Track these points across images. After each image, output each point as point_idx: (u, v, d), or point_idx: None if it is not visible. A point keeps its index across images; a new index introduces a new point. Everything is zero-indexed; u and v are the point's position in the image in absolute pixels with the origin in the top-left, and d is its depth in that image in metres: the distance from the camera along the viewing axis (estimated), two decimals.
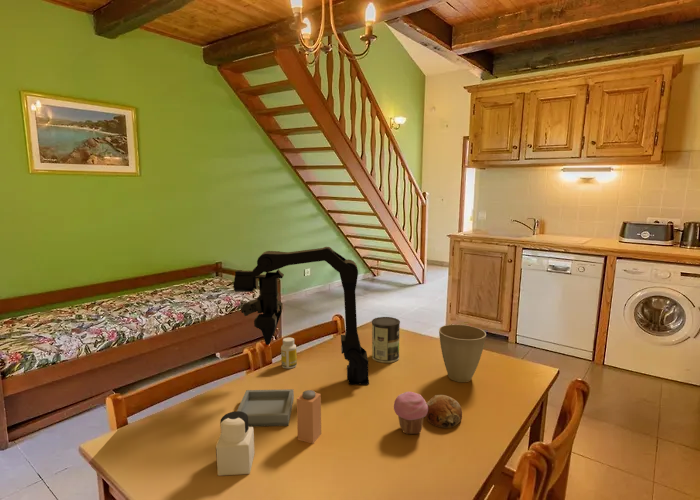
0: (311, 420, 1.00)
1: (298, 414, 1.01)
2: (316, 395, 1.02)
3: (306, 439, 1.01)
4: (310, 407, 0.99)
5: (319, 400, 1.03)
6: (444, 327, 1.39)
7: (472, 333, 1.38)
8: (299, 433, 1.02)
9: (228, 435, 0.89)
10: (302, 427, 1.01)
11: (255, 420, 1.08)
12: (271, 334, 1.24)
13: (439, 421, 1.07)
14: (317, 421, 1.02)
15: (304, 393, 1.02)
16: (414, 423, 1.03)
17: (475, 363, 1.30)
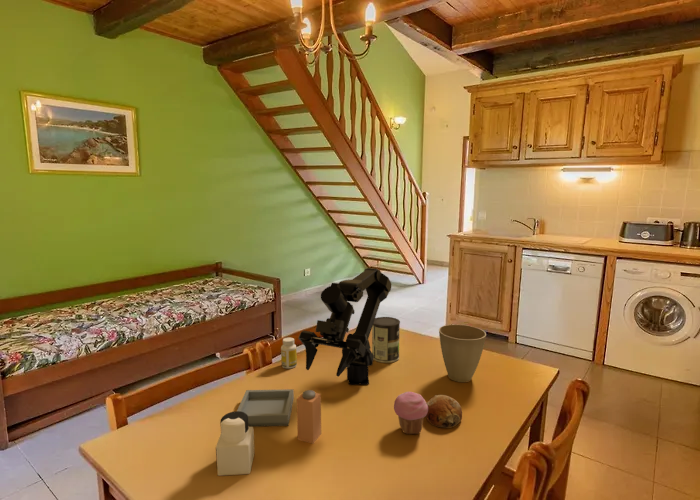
0: (311, 420, 1.00)
1: (298, 414, 1.01)
2: (316, 395, 1.02)
3: (306, 439, 1.01)
4: (310, 407, 0.99)
5: (319, 400, 1.03)
6: (444, 327, 1.39)
7: (472, 333, 1.38)
8: (299, 433, 1.02)
9: (228, 435, 0.89)
10: (302, 427, 1.01)
11: (255, 420, 1.08)
12: (347, 365, 1.10)
13: (439, 421, 1.07)
14: (317, 421, 1.02)
15: (304, 393, 1.02)
16: (414, 423, 1.03)
17: (475, 363, 1.30)
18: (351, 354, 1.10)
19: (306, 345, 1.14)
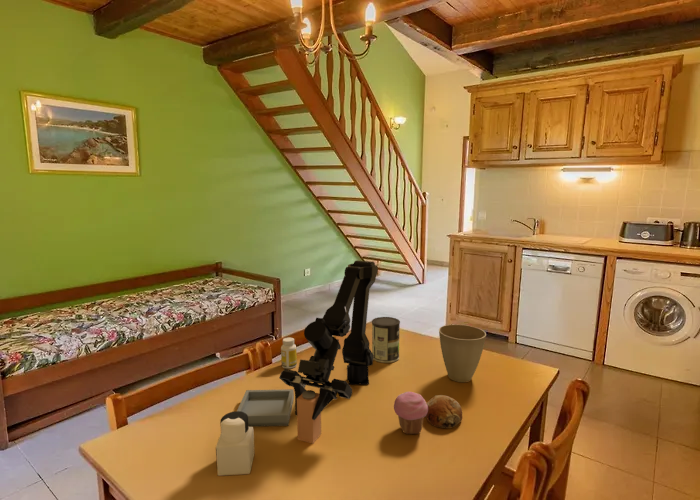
0: (311, 420, 1.00)
1: (298, 414, 1.01)
2: (316, 395, 1.02)
3: (306, 439, 1.01)
4: (310, 407, 0.99)
5: None
6: (444, 327, 1.39)
7: (472, 333, 1.38)
8: (299, 433, 1.02)
9: (228, 435, 0.89)
10: (302, 427, 1.01)
11: (255, 420, 1.08)
12: (324, 407, 1.02)
13: (439, 421, 1.07)
14: (317, 421, 1.02)
15: (304, 393, 1.02)
16: (414, 423, 1.03)
17: (475, 363, 1.30)
18: (328, 395, 1.02)
19: (295, 387, 1.03)
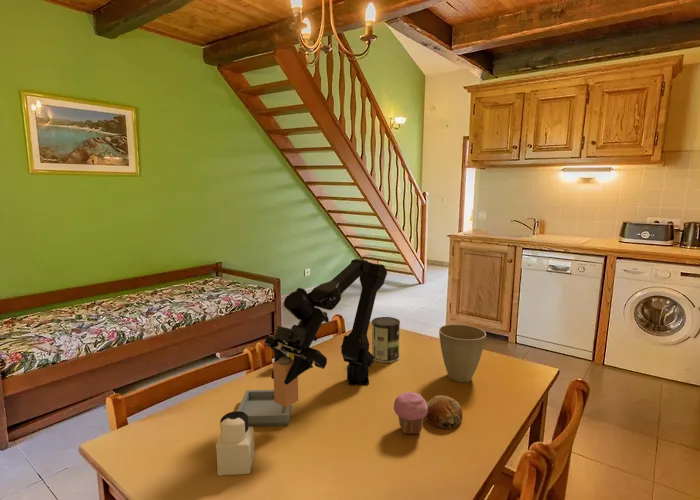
0: (284, 384, 1.04)
1: (274, 378, 1.06)
2: (292, 362, 1.06)
3: (281, 403, 1.06)
4: (283, 372, 1.03)
5: None
6: (444, 327, 1.39)
7: (472, 333, 1.38)
8: (275, 396, 1.06)
9: (228, 435, 0.89)
10: (277, 391, 1.06)
11: (255, 420, 1.08)
12: (299, 374, 1.05)
13: (439, 422, 1.07)
14: (292, 386, 1.06)
15: (281, 358, 1.06)
16: (414, 423, 1.03)
17: (475, 363, 1.30)
18: (303, 362, 1.05)
19: (275, 353, 1.08)
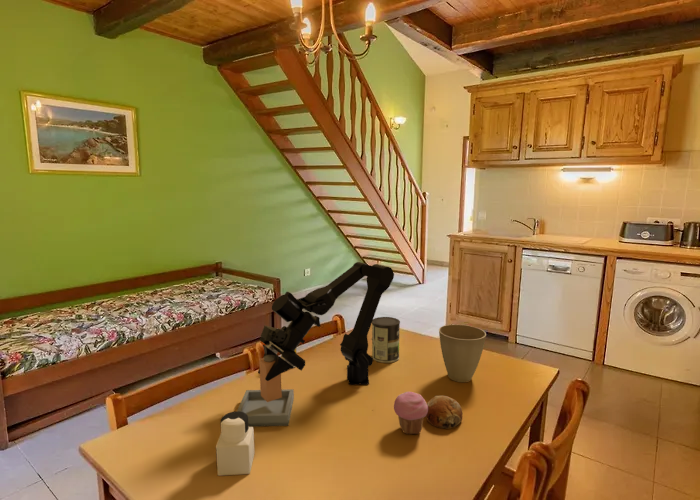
0: (265, 380, 1.12)
1: (260, 373, 1.14)
2: None
3: (264, 397, 1.14)
4: (265, 369, 1.11)
5: None
6: (444, 327, 1.39)
7: (472, 333, 1.38)
8: (261, 390, 1.15)
9: (228, 435, 0.89)
10: (262, 385, 1.14)
11: (255, 420, 1.08)
12: (280, 372, 1.12)
13: (439, 422, 1.06)
14: (274, 383, 1.13)
15: (266, 356, 1.14)
16: (414, 423, 1.03)
17: (475, 363, 1.30)
18: (284, 362, 1.11)
19: (264, 350, 1.17)
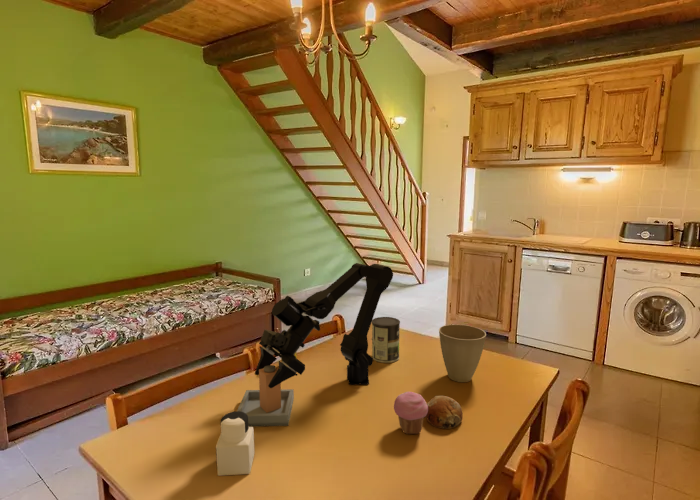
0: (265, 391, 1.12)
1: (259, 383, 1.15)
2: (275, 371, 1.13)
3: (263, 407, 1.14)
4: (265, 379, 1.12)
5: None
6: (444, 327, 1.39)
7: (472, 333, 1.38)
8: (260, 401, 1.15)
9: (228, 435, 0.89)
10: (261, 396, 1.14)
11: (255, 420, 1.08)
12: (283, 379, 1.10)
13: (439, 422, 1.06)
14: (274, 394, 1.13)
15: (266, 366, 1.14)
16: (414, 423, 1.03)
17: (475, 363, 1.30)
18: (288, 369, 1.10)
19: (261, 351, 1.19)
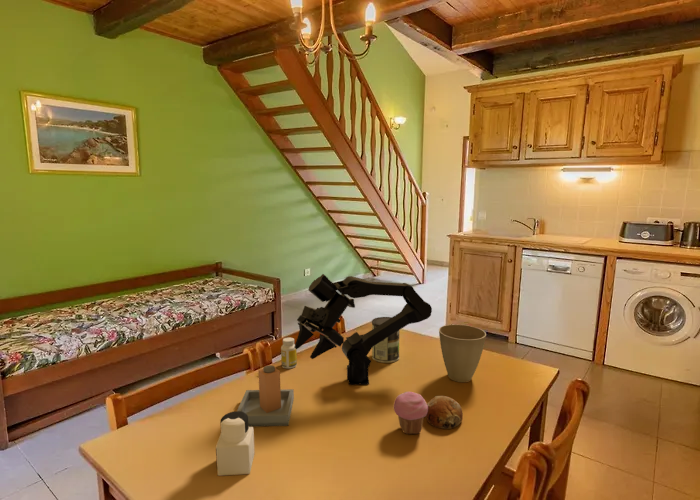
0: (265, 391, 1.12)
1: (259, 384, 1.15)
2: (275, 371, 1.13)
3: (263, 408, 1.14)
4: (264, 380, 1.11)
5: (278, 376, 1.13)
6: (444, 327, 1.39)
7: (472, 333, 1.38)
8: (260, 401, 1.15)
9: (228, 435, 0.89)
10: (261, 396, 1.14)
11: (255, 420, 1.08)
12: (324, 351, 1.19)
13: (439, 422, 1.06)
14: (274, 394, 1.13)
15: (265, 367, 1.14)
16: (414, 423, 1.03)
17: (475, 363, 1.30)
18: (328, 342, 1.19)
19: (300, 327, 1.28)
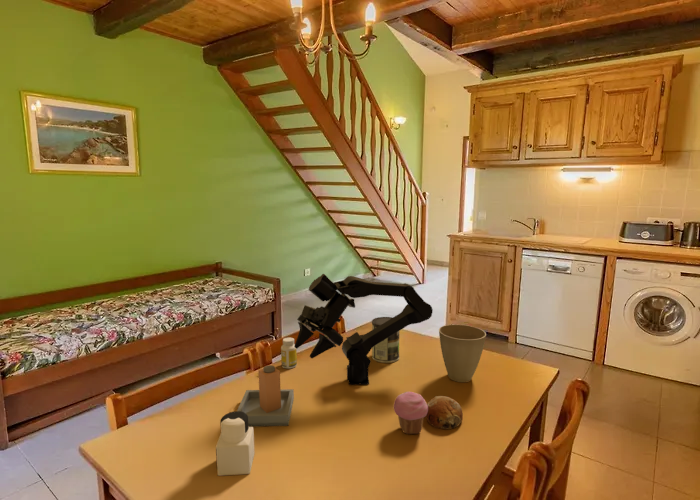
0: (265, 391, 1.12)
1: (259, 384, 1.15)
2: (275, 371, 1.13)
3: (263, 408, 1.14)
4: (264, 380, 1.11)
5: (278, 376, 1.13)
6: (444, 327, 1.39)
7: (472, 333, 1.38)
8: (260, 401, 1.15)
9: (228, 435, 0.89)
10: (261, 396, 1.14)
11: (255, 420, 1.08)
12: (323, 350, 1.19)
13: (439, 422, 1.06)
14: (274, 394, 1.13)
15: (265, 367, 1.14)
16: (414, 423, 1.03)
17: (475, 363, 1.30)
18: (327, 341, 1.19)
19: (300, 326, 1.28)
